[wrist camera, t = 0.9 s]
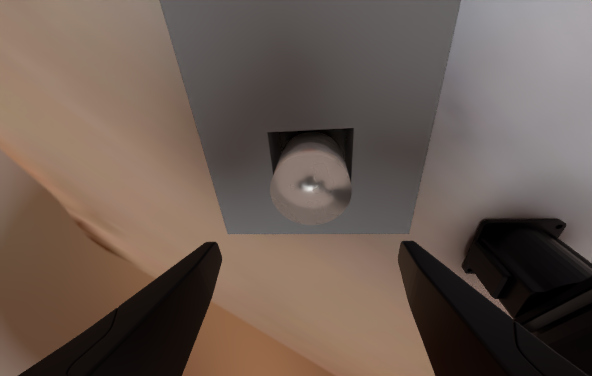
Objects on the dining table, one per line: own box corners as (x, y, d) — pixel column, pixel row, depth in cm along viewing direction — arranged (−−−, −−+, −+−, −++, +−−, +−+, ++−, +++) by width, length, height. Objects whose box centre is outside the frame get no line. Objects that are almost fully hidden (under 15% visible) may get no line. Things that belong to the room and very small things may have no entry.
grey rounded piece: (345, 130, 14) (353, 153, 11) (343, 189, 16) (349, 224, 13) (276, 133, 15) (264, 156, 11) (283, 191, 17) (275, 225, 14)
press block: (481, -334, 8) (596, -608, 5) (393, 203, 20) (409, 233, 17) (137, -246, 10) (40, -408, 6) (242, 206, 22) (227, 234, 18)
